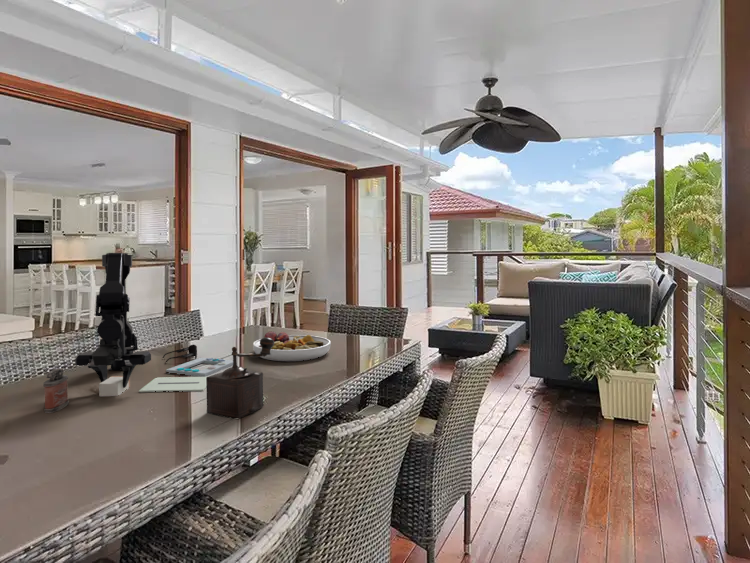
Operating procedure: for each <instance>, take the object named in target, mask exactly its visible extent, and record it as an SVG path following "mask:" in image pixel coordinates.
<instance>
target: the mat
mask: <svg viewBox="0 0 750 563" xmlns="http://www.w3.org/2000/svg"><path fill="white" fill-rule="evenodd" d="M207 377H208V376H206V377H200V376H180V377H179V376H171V377H169V376H167V377H166V376H165V377H164V376H163V377H160V376H159V377H155V378H154V379H152V380H151V381H149V382H148V383H147V384H145V385H144V386H143V387H142V388H140V389H139V390H138V393H164V392H163V391H166V392H165V393H168V391H169V392H170V393H171V392H172V393H174V392H173V391H179V392H182V391H183V392H204V391H205V389H206V390H207V385H206V378H207ZM155 391H156V392H155ZM179 392H178V393H179ZM183 392H182V393H183Z"/></svg>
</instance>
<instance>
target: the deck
mask: <svg viewBox="0 0 750 563" xmlns="http://www.w3.org/2000/svg"><path fill="white" fill-rule="evenodd" d="M129 387H130V388H131V378H129V381H128V383H127V386H126V387H125V388H123V375H112V376H110V377H109V378H108V377H107V379H106V380H105V381H103V382H102V383H101V382H100V383H98V389H99V390H98V394H99V397H119V396H120V395H121V394H123V393H124V392H125V390H126V389H127V390H129V389H130V388H129ZM127 390H126V391H127ZM122 392H123V393H122ZM118 395H119V396H118Z"/></svg>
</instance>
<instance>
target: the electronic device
mask: <svg viewBox="0 0 750 563" xmlns="http://www.w3.org/2000/svg"><path fill="white" fill-rule="evenodd" d="M205 363H206V365H207V364H208V365H211V366H207V368H204V369H197V368H196V369H195V368H194V369H193V368H191V367H195V366H197V365H200V364H205ZM232 366H233V359H223V358H221V359H219V358H213V357H211V358H208V357H199V358H198V357H197V358H196V359H195V358H194V359H193V360H190V361H188V362H184V363H182V364H181V363H180V364H178V365H176V366H172V367H169V368H167V369H165V373H166V372H169V373H168V374H170V373H177V374H176V375H180V374H185V375H184V376H190V375H191V376H190V377H209V376H212V375H214V374H217V373H219V372H221V371H224V370H226V369H228V368H231V367H232Z"/></svg>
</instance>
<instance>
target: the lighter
mask: <svg viewBox="0 0 750 563" xmlns="http://www.w3.org/2000/svg"><path fill="white" fill-rule="evenodd" d="M46 379H47V380H46V381H44V382H43V384H42V385H43V387H44V408H43V410H44V413H46V414H48V413H49V414H50V413H54V412H58V411H60V410H61V409H64V408H65V407H67V406H68V405H69V403H70V401H69V397H68V396H69V395H68V379H69V376H68V374H64V368H63V367H62V368H53V369H52V370H51V371H49V372H47V373H46Z"/></svg>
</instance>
